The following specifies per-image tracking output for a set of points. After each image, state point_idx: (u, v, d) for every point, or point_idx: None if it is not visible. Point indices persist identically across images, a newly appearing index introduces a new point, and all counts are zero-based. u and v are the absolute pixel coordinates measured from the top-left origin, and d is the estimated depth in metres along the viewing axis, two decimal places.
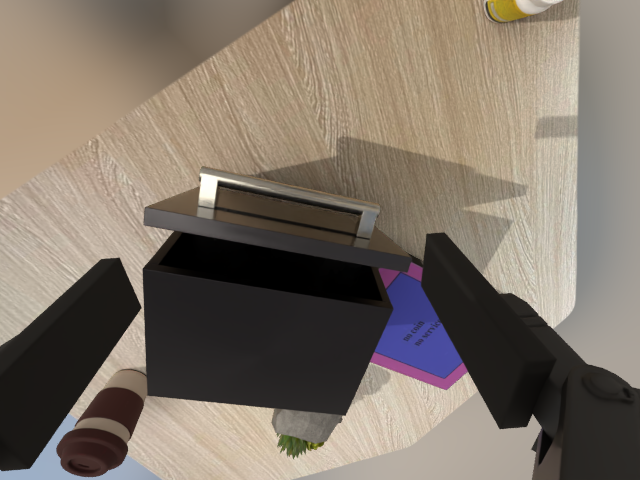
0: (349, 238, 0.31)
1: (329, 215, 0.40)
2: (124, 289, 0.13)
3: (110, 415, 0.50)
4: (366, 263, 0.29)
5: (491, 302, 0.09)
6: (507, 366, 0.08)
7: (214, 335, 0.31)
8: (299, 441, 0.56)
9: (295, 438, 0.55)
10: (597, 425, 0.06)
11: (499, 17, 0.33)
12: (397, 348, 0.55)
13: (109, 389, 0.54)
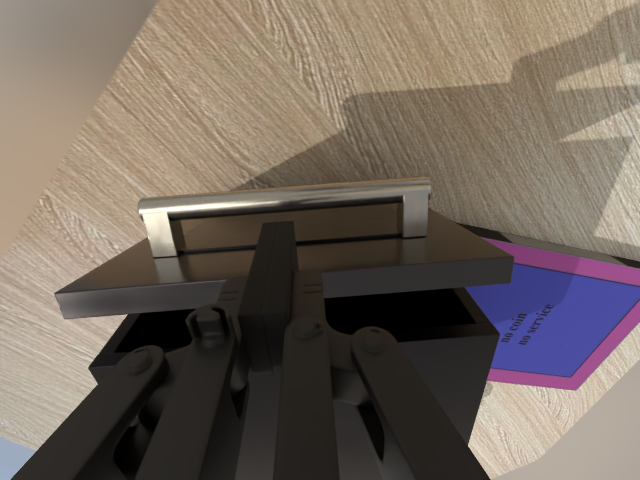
0: (392, 246, 0.19)
1: (355, 209, 0.28)
2: None
3: None
4: (433, 286, 0.16)
5: (277, 273, 0.11)
6: None
7: None
8: None
9: None
10: (301, 362, 0.08)
11: None
12: (496, 353, 0.41)
13: None
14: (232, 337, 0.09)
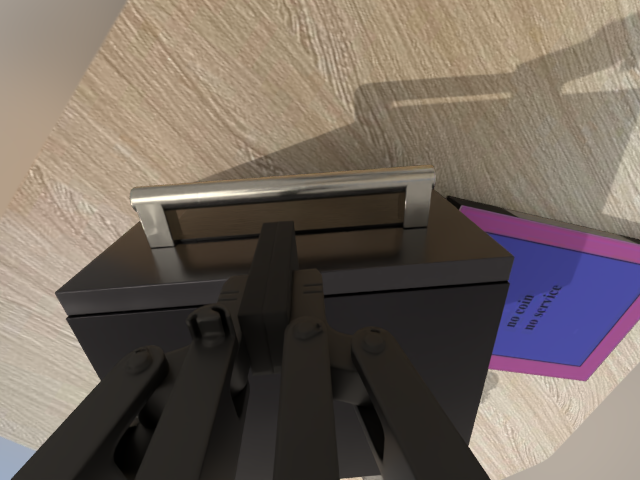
0: (392, 239, 0.18)
1: None
2: None
3: None
4: (431, 284, 0.17)
5: (277, 273, 0.11)
6: None
7: None
8: None
9: None
10: (301, 362, 0.08)
11: None
12: (502, 339, 0.39)
13: None
14: (232, 337, 0.09)
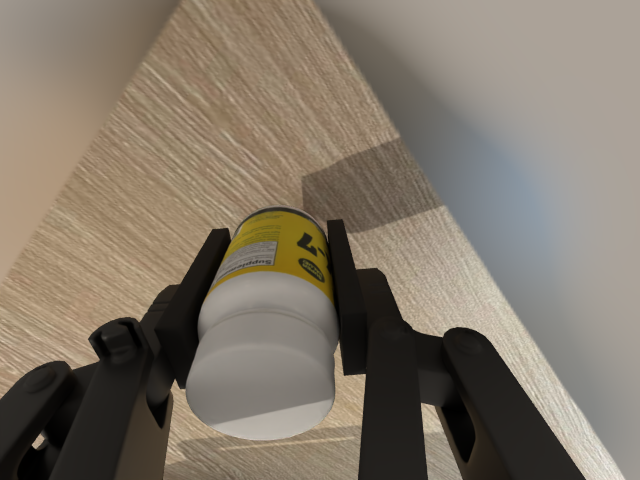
0: None
1: None
2: None
3: None
4: None
5: (344, 272, 0.11)
6: (340, 321, 0.10)
7: None
8: None
9: None
10: (387, 362, 0.07)
11: None
12: None
13: None
14: (145, 348, 0.08)
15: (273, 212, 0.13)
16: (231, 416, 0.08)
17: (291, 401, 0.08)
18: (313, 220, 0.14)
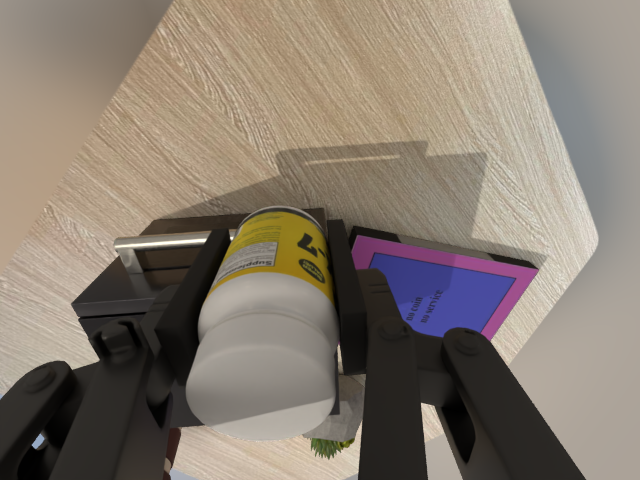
0: None
1: None
2: None
3: None
4: None
5: (344, 272, 0.11)
6: (340, 321, 0.10)
7: None
8: (329, 442, 0.55)
9: (324, 439, 0.55)
10: (387, 362, 0.07)
11: None
12: None
13: None
14: (145, 348, 0.08)
15: (273, 212, 0.13)
16: (231, 417, 0.08)
17: (291, 402, 0.08)
18: (313, 221, 0.14)
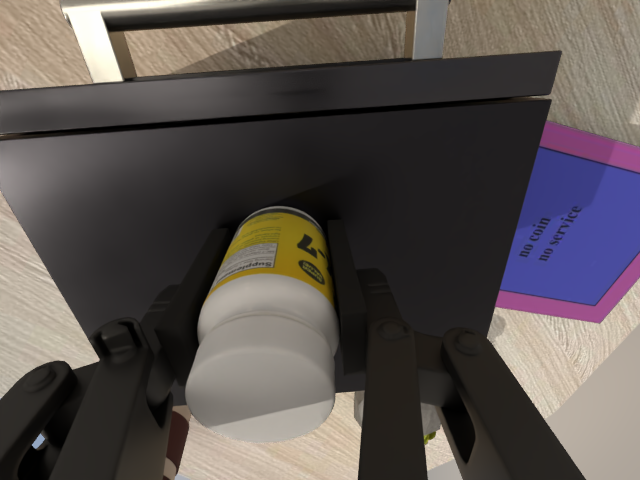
0: None
1: None
2: None
3: None
4: (451, 96, 0.13)
5: (344, 272, 0.11)
6: (340, 321, 0.10)
7: (184, 269, 0.16)
8: None
9: None
10: (387, 362, 0.08)
11: None
12: (513, 272, 0.36)
13: None
14: (145, 348, 0.08)
15: (273, 213, 0.13)
16: (231, 419, 0.08)
17: (291, 404, 0.08)
18: (313, 221, 0.14)
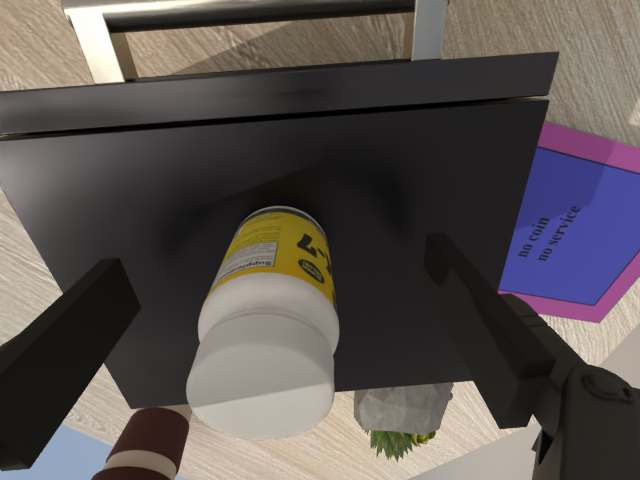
0: None
1: None
2: (124, 289, 0.13)
3: (142, 445, 0.38)
4: (449, 97, 0.13)
5: (491, 302, 0.09)
6: (507, 366, 0.08)
7: (185, 268, 0.16)
8: (399, 436, 0.39)
9: (392, 432, 0.39)
10: (597, 425, 0.06)
11: None
12: (512, 272, 0.36)
13: (139, 412, 0.42)
14: None
15: (273, 213, 0.13)
16: (231, 416, 0.08)
17: (291, 400, 0.08)
18: (313, 221, 0.14)
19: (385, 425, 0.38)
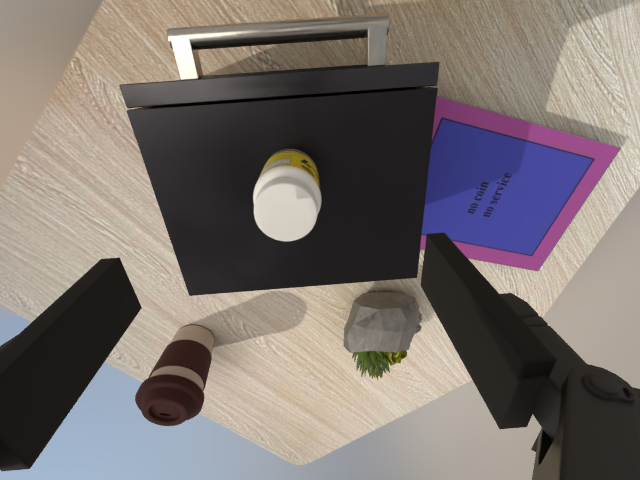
0: None
1: None
2: (124, 289, 0.13)
3: (178, 362, 0.49)
4: (382, 86, 0.24)
5: (491, 302, 0.09)
6: (507, 366, 0.08)
7: (233, 189, 0.27)
8: (378, 357, 0.50)
9: (373, 354, 0.49)
10: (597, 425, 0.06)
11: None
12: (464, 226, 0.47)
13: (173, 343, 0.53)
14: None
15: (287, 150, 0.24)
16: (272, 224, 0.19)
17: (298, 215, 0.19)
18: (309, 157, 0.25)
19: (367, 346, 0.48)
